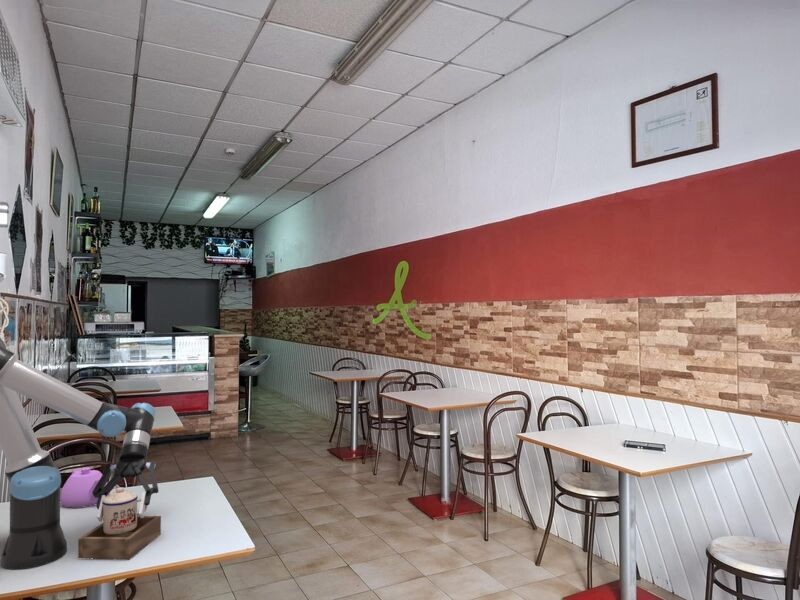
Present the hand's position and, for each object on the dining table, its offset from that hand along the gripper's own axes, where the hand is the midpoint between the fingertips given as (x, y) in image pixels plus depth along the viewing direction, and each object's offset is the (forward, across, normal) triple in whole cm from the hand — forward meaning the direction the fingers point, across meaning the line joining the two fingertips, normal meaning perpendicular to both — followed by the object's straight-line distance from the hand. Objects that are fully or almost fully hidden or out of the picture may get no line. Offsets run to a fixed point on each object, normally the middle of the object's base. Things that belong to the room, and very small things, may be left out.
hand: (120, 517), depth 156 cm
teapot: (-27, +25, -40) cm, 54 cm away
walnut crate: (+4, 0, -8) cm, 10 cm away
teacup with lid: (+1, -1, -5) cm, 5 cm away
